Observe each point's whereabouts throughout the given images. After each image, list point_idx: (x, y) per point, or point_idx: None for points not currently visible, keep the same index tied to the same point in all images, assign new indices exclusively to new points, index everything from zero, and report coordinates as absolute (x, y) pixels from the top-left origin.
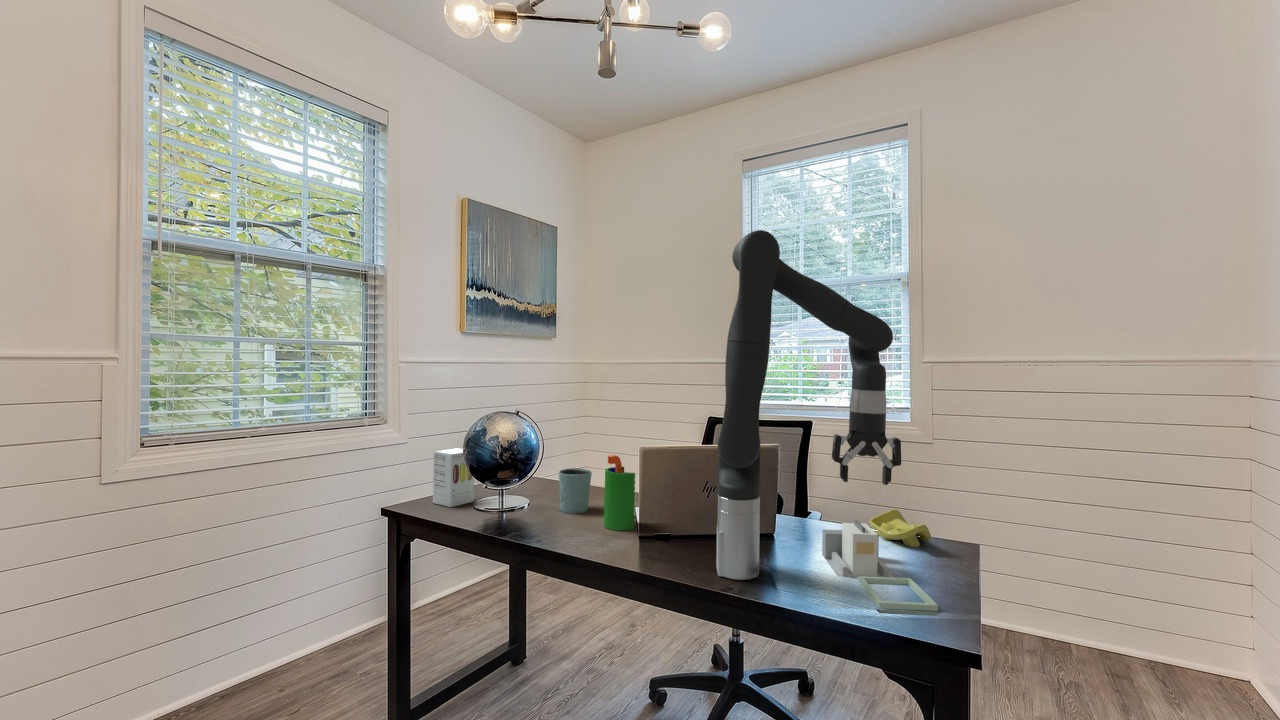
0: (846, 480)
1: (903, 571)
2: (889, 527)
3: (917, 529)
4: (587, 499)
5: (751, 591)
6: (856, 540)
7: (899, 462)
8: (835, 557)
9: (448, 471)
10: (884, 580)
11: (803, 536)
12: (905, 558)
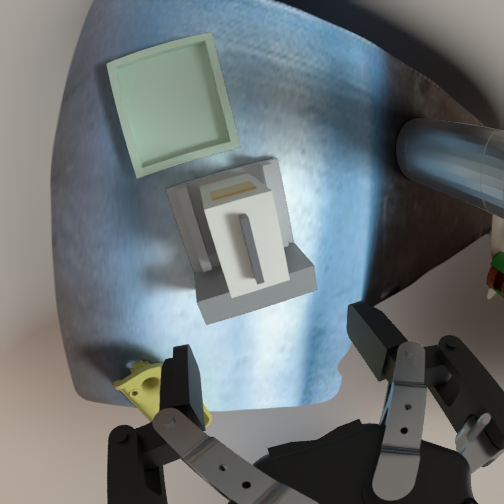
0: (357, 304)
1: (149, 256)
2: None
3: (128, 378)
4: None
5: (399, 81)
6: (258, 189)
7: (116, 439)
8: (283, 219)
9: None
10: (187, 153)
11: (314, 347)
12: (148, 321)
